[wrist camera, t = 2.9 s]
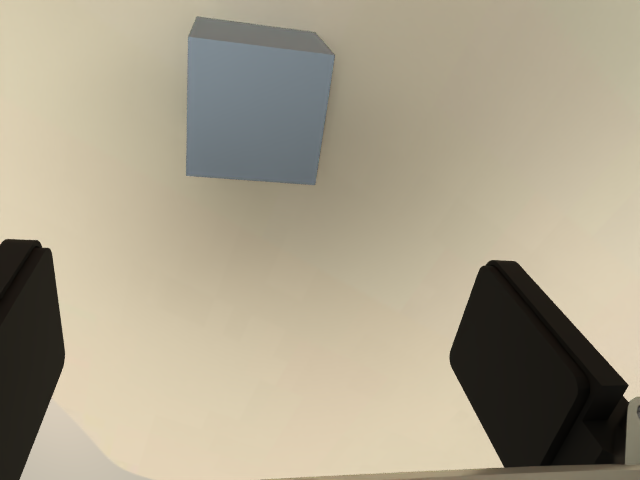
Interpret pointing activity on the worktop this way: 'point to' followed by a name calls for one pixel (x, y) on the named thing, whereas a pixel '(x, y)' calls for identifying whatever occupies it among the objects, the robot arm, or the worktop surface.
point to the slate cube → (255, 101)
